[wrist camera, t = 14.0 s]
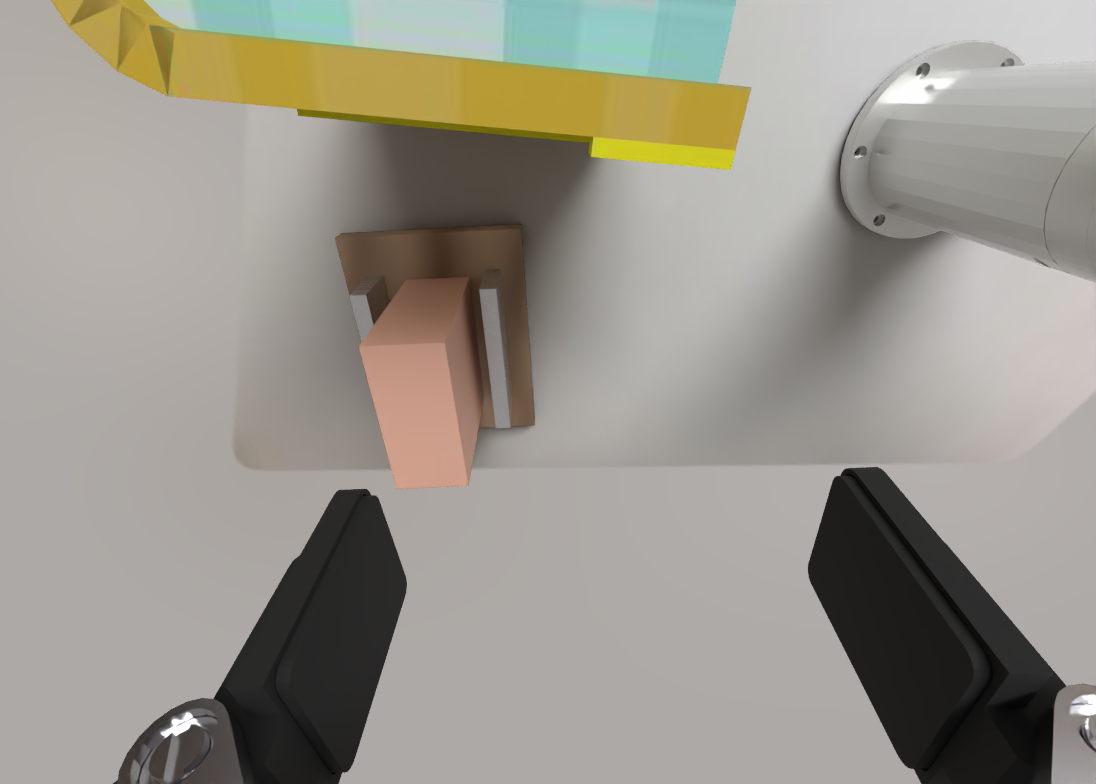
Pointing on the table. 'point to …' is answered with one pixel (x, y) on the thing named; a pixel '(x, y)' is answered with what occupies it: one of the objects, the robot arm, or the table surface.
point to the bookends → (374, 300)
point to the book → (448, 65)
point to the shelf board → (455, 258)
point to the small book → (427, 382)
